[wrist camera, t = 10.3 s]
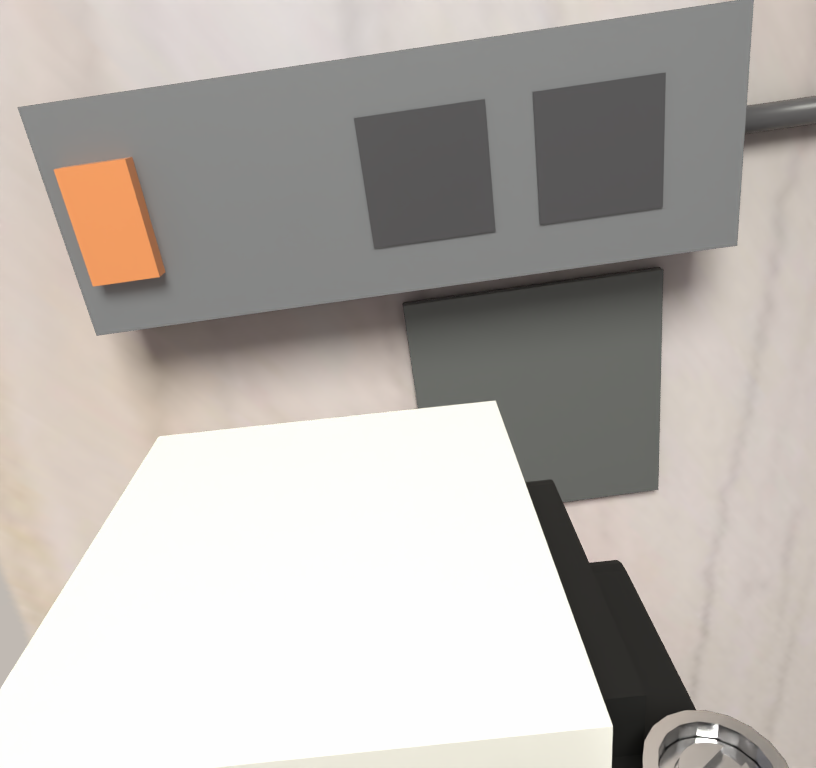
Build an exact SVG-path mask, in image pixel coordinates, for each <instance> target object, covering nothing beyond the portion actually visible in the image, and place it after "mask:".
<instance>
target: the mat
mask: <svg viewBox="0 0 816 768" xmlns="http://www.w3.org/2000/svg"><path fill="white" fill-rule="evenodd" d="M662 298H663V269H662V268H660V267H657V268H650V269H643V270H636V271H629V272H622V273H615V274H608V275H600V276H593V277H586V278H579V279H572V280H565V281H558V282H551V283H544V284H536V285H529V286H522V287H515V288H508V289H501V290H494V291H487V292H479V293H472V294H465V295H458V296H451V297H444V298H437V299H430V300H422V301H415V302H408V303H403V308H404V315H405V322H406V329H407V336H408V343H409V350H410V357H411V364H412V371H413V378H414V385H415V392H416V399H417V406H418V409H421V408H430V407H439V406H449V405H458V404H467V403H477V402H486V401H496V403H497V406H498V409H499V412H500V414H501V417H502V420H503V423H504V425H505V428H506V431H507V434H508V437H509V439H510V442H511V445H512V448H513V450H514V453H515V456H516V459H517V462H518V464H519V467H520V470H521V473H522V475H523V478H524V481H525V482H530V481H540V480H549V479H551V480H553V482H554V483H555V486H556V488H557V490H558V493H559V495H560V497H561V499H562V502H569V501H577V500H584V499H592V498H599V497H607V496H614V495H622V494H629V493H637V492H644V491H652V490H658V476H659V432H660V387H661V343H662Z"/></svg>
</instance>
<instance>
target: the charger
mask: <svg viewBox="0 0 816 768" xmlns="http://www.w3.org/2000/svg"><path fill="white" fill-rule="evenodd" d="M612 741H613V725H612V722H611V720H610V717H609V714H608V711H607V708H606V706H605V703H604V700H603V697H602V695H601V692H600V689H599V686H598V683H597V681H596V678H595V675H594V672H593V670H592V667H591V664H590V661H589V659H588V656H587V653H586V650H585V647H584V645H583V642H582V639H581V636H580V634H579V631H578V628H577V625H576V622H575V620H574V617H573V614H572V611H571V609H570V606H569V603H568V600H567V597H566V595H565V592H564V589H563V586H562V584H561V581H560V578H559V575H558V573H557V570H556V567H555V564H554V561H553V559H552V556H551V553H550V550H549V548H548V545H547V542H546V539H545V536H544V534H543V531H542V528H541V525H540V523H539V520H538V517H537V514H536V511H535V509H534V506H533V503H532V500H531V498H530V495H529V492H528V489H527V487H526V484H525V481H524V478H523V475H522V473H521V470H520V467H519V464H518V462H517V459H516V456H515V453H514V450H513V448H512V445H511V442H510V439H509V437H508V434H507V431H506V428H505V425H504V423H503V420H502V417H501V414H500V412H499V409H498V406H497V403H496V401H486V402H477V403H467V404H458V405H449V406H439V407H430V408H421V409H411V410H402V411H393V412H383V413H374V414H364V415H355V416H346V417H336V418H327V419H318V420H308V421H299V422H290V423H280V424H271V425H262V426H252V427H243V428H234V429H224V430H215V431H206V432H196V433H187V434H178V435H168V436H159V437H158V439H157V440H156V442H155V443H154V445H153V447H152V448H151V450H150V451H149V453H148V454H147V456H146V458H145V459H144V461H143V462H142V464H141V466H140V467H139V469H138V470H137V472H136V474H135V475H134V477H133V478H132V480H131V482H130V483H129V485H128V486H127V488H126V490H125V491H124V493H123V494H122V496H121V497H120V499H119V501H118V502H117V504H116V505H115V507H114V509H113V510H112V512H111V513H110V515H109V517H108V518H107V520H106V521H105V523H104V525H103V526H102V528H101V529H100V531H99V533H98V534H97V536H96V537H95V539H94V540H93V542H92V544H91V545H90V547H89V548H88V550H87V552H86V553H85V555H84V556H83V558H82V560H81V561H80V563H79V564H78V566H77V568H76V569H75V571H74V572H73V574H72V576H71V577H70V579H69V580H68V582H67V583H66V585H65V587H64V588H63V590H62V591H61V593H60V595H59V596H58V598H57V599H56V601H55V603H54V604H53V606H52V607H51V609H50V611H49V612H48V614H47V615H46V617H45V619H44V620H43V622H42V623H41V625H40V626H39V628H38V630H37V631H36V633H35V634H34V636H33V638H32V639H31V641H30V642H29V644H28V646H27V647H26V649H25V650H24V652H23V654H22V655H21V657H20V659H19V660H18V662H17V663H16V665H15V666H14V668H13V669H12V671H11V673H10V674H9V676H8V678H7V679H6V681H5V682H4V684H3V685H2V687H1V689H0V768H612Z"/></svg>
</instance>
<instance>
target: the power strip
mask: <svg viewBox="0 0 816 768" xmlns="http://www.w3.org/2000/svg"><path fill="white" fill-rule="evenodd" d="M753 3H754V0H736V1H729V2H723V3H716V4H709V5H703V6H696V7H689V8H682V9H676V10H669V11H662V12H655V13H649V14H642V15H635V16H629V17H622V18H615V19H608V20H602V21H595V22H588V23H581V24H575V25H568V26H561V27H554V28H548V29H541V30H534V31H528V32H521V33H514V34H507V35H501V36H494V37H487V38H480V39H474V40H467V41H460V42H454V43H447V44H440V45H433V46H427V47H420V48H413V49H406V50H400V51H393V52H386V53H379V54H373V55H366V56H359V57H353V58H346V59H339V60H332V61H326V62H319V63H312V64H305V65H299V66H292V67H285V68H279V69H272V70H265V71H258V72H252V73H245V74H238V75H231V76H225V77H218V78H211V79H205V80H198V81H191V82H184V83H178V84H171V85H164V86H157V87H151V88H144V89H137V90H130V91H124V92H117V93H110V94H104V95H97V96H90V97H83V98H77V99H70V100H63V101H56V102H50V103H43V104H36V105H30V106H23V107H18V110H19V113H20V116H21V119H22V121H23V124H24V127H25V130H26V133H27V136H28V139H29V142H30V145H31V147H32V150H33V153H34V156H35V159H36V162H37V165H38V168H39V171H40V173H41V176H42V179H43V182H44V185H45V188H46V191H47V194H48V197H49V199H50V202H51V205H52V208H53V211H54V214H55V217H56V220H57V223H58V225H59V228H60V231H61V234H62V237H63V240H64V243H65V246H66V249H67V251H68V254H69V257H70V260H71V263H72V266H73V269H74V272H75V275H76V277H77V280H78V283H79V286H80V289H81V292H82V295H83V298H84V301H85V303H86V306H87V309H88V312H89V315H90V318H91V321H92V324H93V327H94V329H95V332H96V335H97V336H98V335H105V334H112V333H119V332H126V331H134V330H141V329H148V328H155V327H162V326H169V325H176V324H183V323H190V322H197V321H205V320H212V319H219V318H226V317H233V316H240V315H247V314H254V313H261V312H268V311H276V310H283V309H290V308H297V307H304V306H311V305H318V304H325V303H332V302H340V301H347V300H354V299H361V298H368V297H375V296H382V295H389V294H396V293H403V292H411V291H418V290H425V289H432V288H439V287H446V286H453V285H460V284H467V283H474V282H482V281H489V280H496V279H503V278H510V277H517V276H524V275H531V274H538V273H545V272H553V271H560V270H567V269H574V268H581V267H588V266H595V265H602V264H609V263H617V262H624V261H631V260H638V259H645V258H652V257H659V256H666V255H673V254H680V253H688V252H695V251H702V250H709V249H716V248H723V247H730V246H737V239H738V224H739V210H740V195H741V180H742V165H743V151H744V136H745V134H747V133H754V132H761V131H768V130H775V129H782V128H788V127H795V126H802V125H809V124H816V96H811V97H804V98H797V99H790V100H783V101H777V102H770V103H763V104H756V105H749V106H747V92H748V77H749V62H750V47H751V33H752V18H753Z"/></svg>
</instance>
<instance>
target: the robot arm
mask: <svg viewBox="0 0 816 768" xmlns="http://www.w3.org/2000/svg"><path fill="white" fill-rule="evenodd" d="M525 484H526V487H527V489H528V492H529V495H530V498H531V500H532V503H533V506H534V509H535V511H536V514H537V517H538V520H539V523H540V525H541V528H542V531H543V534H544V536H545V539H546V542H547V545H548V548H549V550H550V553H551V556H552V559H553V561H554V564H555V567H556V570H557V573H558V575H559V578H560V581H561V584H562V586H563V589H564V592H565V595H566V597H567V600H568V603H569V606H570V609H571V611H572V614H573V617H574V620H575V622H576V625H577V628H578V631H579V634H580V636H581V639H582V642H583V645H584V647H585V650H586V653H587V656H588V659H589V661H590V664H591V667H592V670H593V672H594V675H595V678H596V681H597V683H598V686H599V689H600V692H601V695H602V697H603V700H604V703H605V706H606V708H607V711H608V714H609V717H610V720H611V722H612V725H613V741H612V768H789V767H788V765H787V763H786V761H785V759H784V758H783V757H782V756H781V754H780V753H779V752H778V751H777V750H776V748H775V747H774V746H773V745H772V744H771V742H770V741H768V740H767V739H766V738H765V737H763V736H762V735H761V734H759V733H758V732H757V731H756V730H754V729H753V728H752V727H750V726H748V725H746V724H744V723H742V722H740V721H738V720H736V719H734V718H732V717H730V716H727V715H723V714H719V713H715V712H711V711H707V710H696V709H695V707H694V705H693V703H692V701H691V699H690V697H689V695H688V693H687V691H686V689H685V687H684V685H683V683H682V681H681V679H680V677H679V675H678V673H677V671H676V669H675V667H674V665H673V663H672V661H671V659H670V657H669V655H668V653H667V651H666V649H665V647H664V645H663V643H662V641H661V639H660V637H659V635H658V633H657V631H656V629H655V627H654V625H653V623H652V621H651V619H650V617H649V615H648V613H647V611H646V609H645V607H644V605H643V603H642V601H641V599H640V597H639V595H638V593H637V591H636V589H635V587H634V585H633V583H632V582H631V580H630V578H629V576H628V574H627V572H626V570H625V568H624V567H623V565H622V563H621V562H619V561H618V560H612V561H603V562H593V563H589V562H588V559H587V557H586V555H585V552H584V550H583V548H582V546H581V543H580V541H579V539H578V536H577V534H576V532H575V529H574V527H573V525H572V522H571V520H570V518H569V516H568V513H567V511H566V509H565V506H564V504H563V502H562V499H561V497H560V495H559V493H558V490H557V488H556V486H555V483H554V482H553V480H551V479H549V480H540V481H530V482H525Z"/></svg>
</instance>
